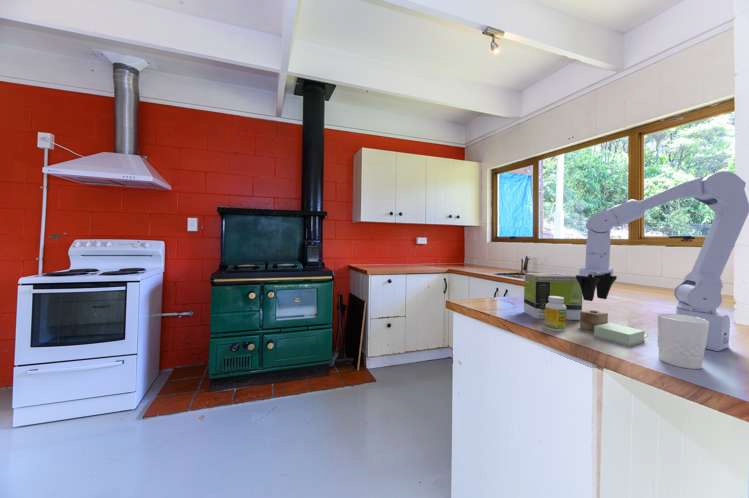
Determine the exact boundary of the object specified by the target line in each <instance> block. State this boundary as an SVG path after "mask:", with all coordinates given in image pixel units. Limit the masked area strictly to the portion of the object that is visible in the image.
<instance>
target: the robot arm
mask: <svg viewBox="0 0 749 498" xmlns="http://www.w3.org/2000/svg"><path fill="white" fill-rule="evenodd" d="M746 183H747V182H745V180H744V179H742V178H741V177H740V176H739V175H738V174H736V173H734V172H731V171H727V170H722V171H717V172H716V171H715V172H714V173H711V174H709V175H708V176H706V175H704V176H701V177H697V178H694V179H691V180H687V181H684V182H681V183H679V184H677V185H674V186H672V187H669V188H667V189H665V190H663V191H660V192H657V193H655V194H653V195H650V196H648V197H646V198H644V199H642V200H637V199H629V200H627V199H624V200H622V201H620V202H619V204H617V205H614V206H612V207H609V208H603V209H601V211H599V212H596V213H595V214H592V215H591V216H590V217H589V218H588V219H587V220H586V223H585V227H586V229H587V235H586V236H587V237H586V242H585V243H586V244H585V245H586V247H585V263H584V264H585V265H584V267H583V266H582V267H580V268H579V269H578V270H579V271H578V273H579V274H576V275H575V276H576V279H577V281H578V282H579V285H580V287H581V290H582V300H584V301H586V302H587V301H589V302H593V301H594V297H595V293H596V297H597V299H600V300H601V299H603V300H607V298H608V296H609V294H610V293H609V292H610V290H611V288H612V287H613V284H614V283H615V282H616V280H617V277H618V276H617V275H614V268H612V267H610V259H611V257H610V256H611V241H612V239H611V231H612V229H613V228H614V227H615V228H618V227H621V226H623V225H626V224H628V223H631V222H633V221H636V220H638V219H641V218H643V217H644V214H645V213H646V212H647V211H648V210H651V209H654V208H656V207H659V206H662V205H664V204H667V203H670V202H672V201H675V200H679V199H684V200H690V199H694V200H696V201H697V202H699V203H702V204H703V205H706V206H707V207H708V208H709V209H711V211H712V212H713V213H714V214H715V216H714V218H713V220H712V222H711V225H710V227H709V230H708V232H707V234H706V237H705V238H704V242H702V243H703V244H702V246H701V248H700V251H699V253H698V256H697V258H696V260H695V262H694V265H693V266H692V269H691V271H689V273H688V274H687V275H685V276H684V279H683V281H682V282H681V283H680V284H678V285H677V286H675V288H674V289H673V296H674V297H675V299H676V300H677V301H678V303H677V304H676V309H675V310H676V311H675V314H678V315H686V316H692V317H696V318H701V319H704V320H707V321H709V326H708V334H707V342H706V347H705V350H711V351H716V352H720V351H723V350H725V349H727V348H730V344H729V342H730V341H729V340H730V327H731V320H730V316H729V315H728V314H724V313H720V312H717V309H718V308H719V307H721V305H722V302H723V297H722V289H723V286H724V285H723V282H722V279H721V277H722V274H723V271H724V269H725V267H726V266H727V263H728V260H729V259H730V256H731V254H732V251H733V249H734V247H735V245H736V243H737V240H738V238H739V236H740V234H741V231H742V229H743V227H744V224H745V222H746V220H747V217H748V215H749V200H748V197H747V194H746V190H745V188H746Z"/></svg>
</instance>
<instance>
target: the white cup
mask: <svg viewBox="0 0 749 498" xmlns="http://www.w3.org/2000/svg"><path fill="white" fill-rule="evenodd" d="M708 326H709V321H707V320H704V319H701V318H696V317H692V316H686V315H678V314H676V313H664V312H663V313H657V347H658V360H660V361H661V362H662V363H666V364H667V365H671V366H676V367H679V368H684V369H691V370H701V369H702V368H703V362H704V361H703V360H704V356H705V353H706V348H705V347H706V342H707V334H708Z"/></svg>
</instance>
